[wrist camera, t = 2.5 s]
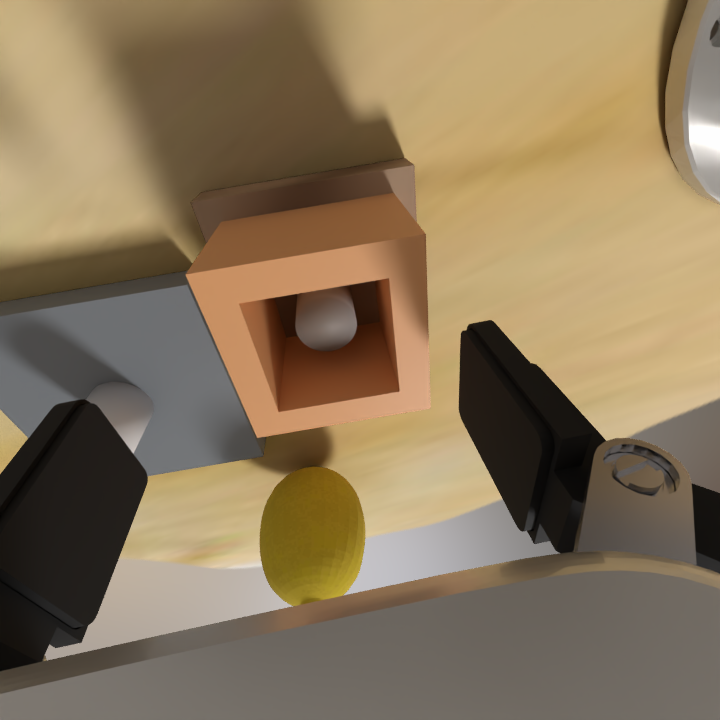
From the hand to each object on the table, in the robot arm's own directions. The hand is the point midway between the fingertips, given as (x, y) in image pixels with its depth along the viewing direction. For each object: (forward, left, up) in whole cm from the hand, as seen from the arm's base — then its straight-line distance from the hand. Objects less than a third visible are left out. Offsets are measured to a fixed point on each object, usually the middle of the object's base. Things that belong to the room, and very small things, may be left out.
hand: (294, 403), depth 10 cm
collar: (-1, 0, -6) cm, 6 cm away
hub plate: (+9, +4, -8) cm, 12 cm away
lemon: (+2, +12, -8) cm, 15 cm away
